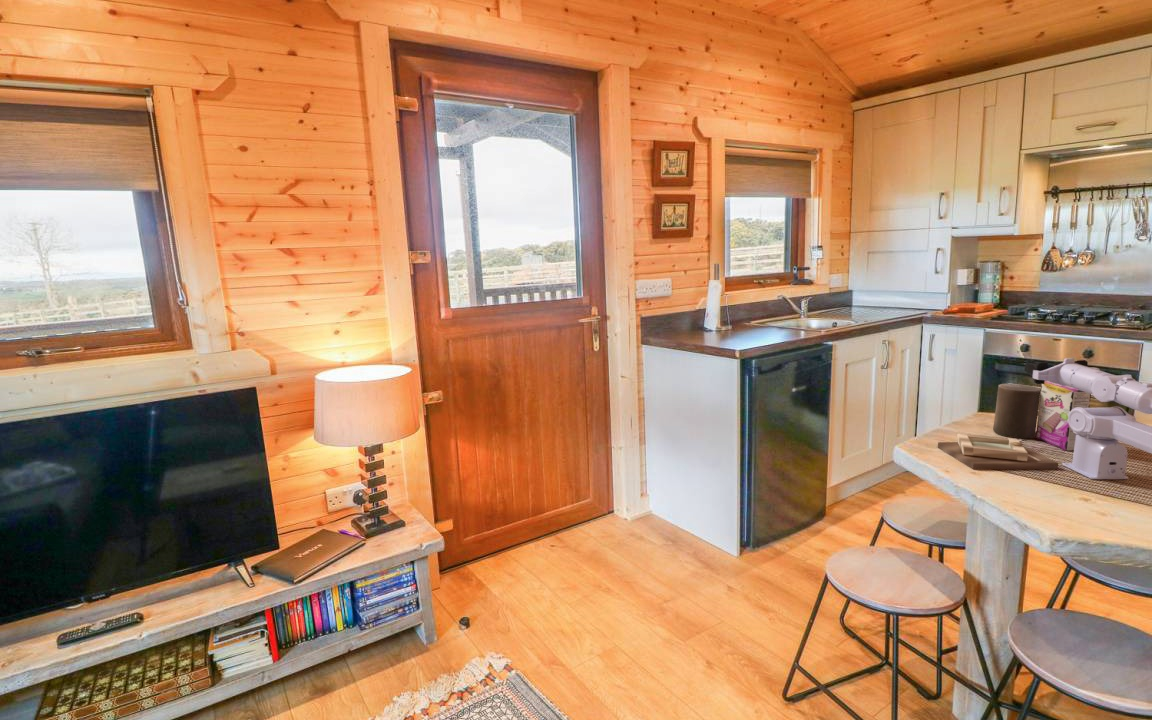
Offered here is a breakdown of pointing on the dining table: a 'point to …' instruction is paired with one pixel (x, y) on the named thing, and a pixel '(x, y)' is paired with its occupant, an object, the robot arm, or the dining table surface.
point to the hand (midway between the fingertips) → (1041, 366)
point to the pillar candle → (1016, 410)
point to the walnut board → (998, 459)
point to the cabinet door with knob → (991, 447)
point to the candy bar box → (1058, 414)
